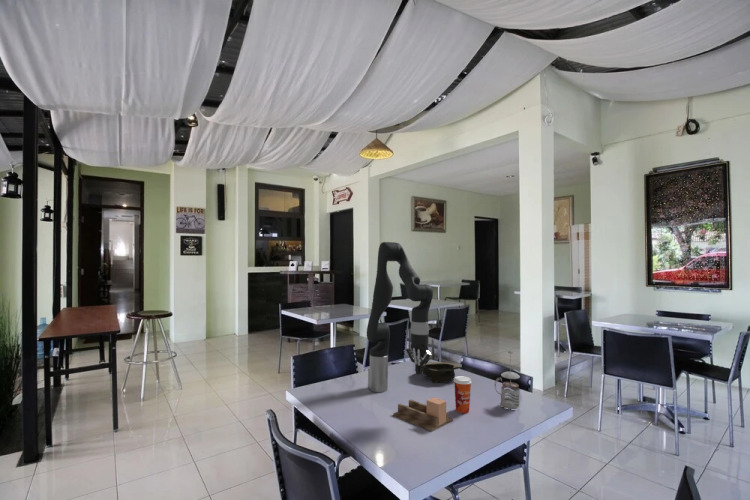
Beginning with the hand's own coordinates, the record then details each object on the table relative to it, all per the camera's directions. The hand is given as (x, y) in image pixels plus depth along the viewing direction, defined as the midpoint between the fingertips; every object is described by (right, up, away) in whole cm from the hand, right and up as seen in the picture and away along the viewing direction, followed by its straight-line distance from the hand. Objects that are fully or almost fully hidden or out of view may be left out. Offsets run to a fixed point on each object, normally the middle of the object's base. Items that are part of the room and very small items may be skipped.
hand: (418, 373), depth 157 cm
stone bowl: (+17, -20, +52) cm, 58 cm away
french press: (+42, -19, +12) cm, 48 cm away
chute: (+1, -18, -2) cm, 18 cm away
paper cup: (+20, -19, +6) cm, 28 cm away
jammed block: (+6, -17, -7) cm, 19 cm away
